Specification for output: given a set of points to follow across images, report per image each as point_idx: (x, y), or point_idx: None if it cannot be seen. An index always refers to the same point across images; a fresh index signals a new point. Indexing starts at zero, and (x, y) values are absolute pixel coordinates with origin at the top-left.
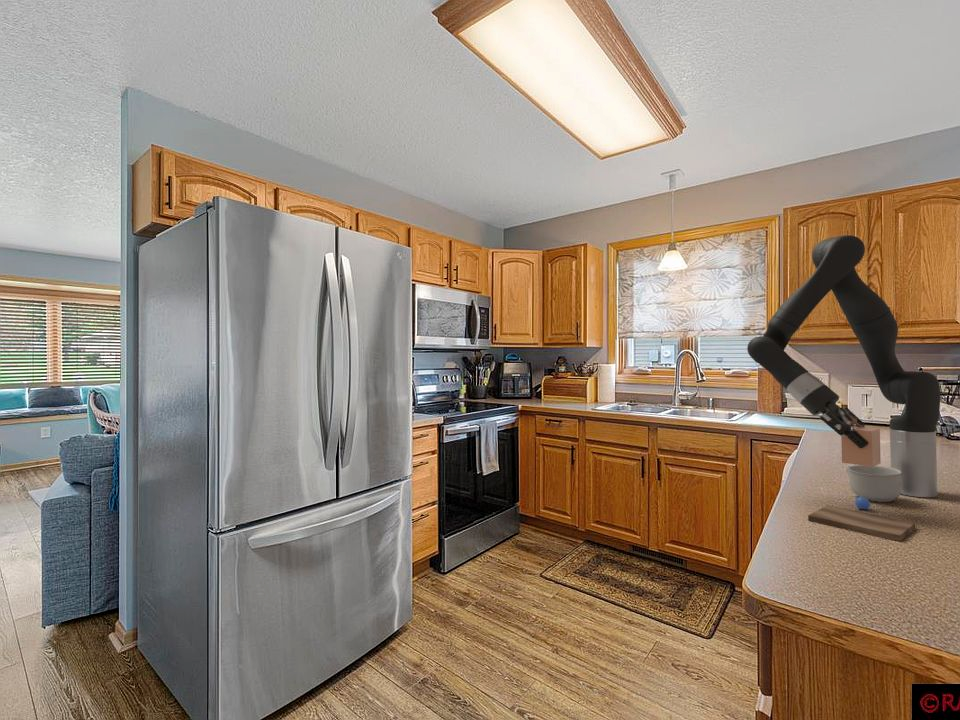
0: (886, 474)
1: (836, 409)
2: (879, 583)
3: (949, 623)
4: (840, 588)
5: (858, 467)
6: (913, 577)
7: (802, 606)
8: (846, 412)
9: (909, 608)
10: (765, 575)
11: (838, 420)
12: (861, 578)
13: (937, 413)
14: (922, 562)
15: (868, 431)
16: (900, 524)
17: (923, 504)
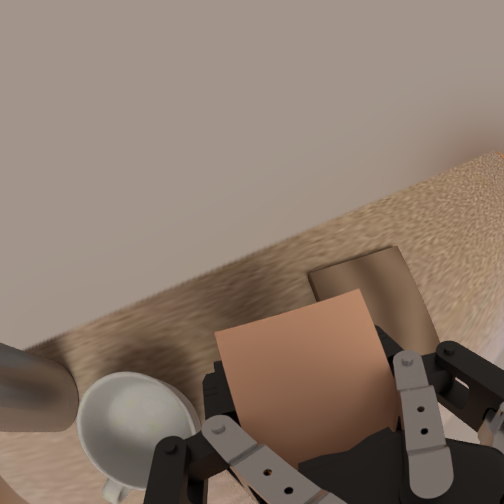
0: (91, 420)
1: (445, 493)
2: (488, 199)
3: (479, 157)
4: None
5: (118, 476)
6: (458, 192)
7: None
8: (331, 496)
9: (490, 174)
10: None
11: (494, 369)
12: (495, 210)
13: None
14: (424, 204)
15: (363, 304)
16: (345, 276)
17: (116, 354)
